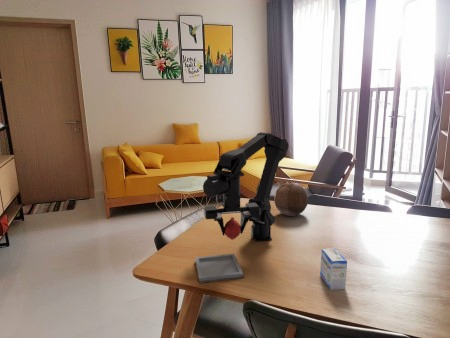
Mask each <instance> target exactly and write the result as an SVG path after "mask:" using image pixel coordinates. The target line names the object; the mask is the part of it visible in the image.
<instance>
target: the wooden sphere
mask: <svg viewBox="0 0 450 338" xmlns="http://www.w3.org/2000/svg"><path fill="white" fill-rule="evenodd" d="M273 197H274V198H273V200H274V201H273V202H274V205H275V207H276V209H277V211H279V212H280V213H281V214H283V215H285V216H287V217H297V216H298V215H300V214H302V213H303V212H304V211H305V209H306V208H307V207H308V204H309V196H308V193H307V191H306V190H305V188H304V187H303V185H300V184H298V183H296V182H285V183H283V184H281V185H280V186H279V187H278V188H277V189H276V191H275V193H274V196H273Z"/></svg>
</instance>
